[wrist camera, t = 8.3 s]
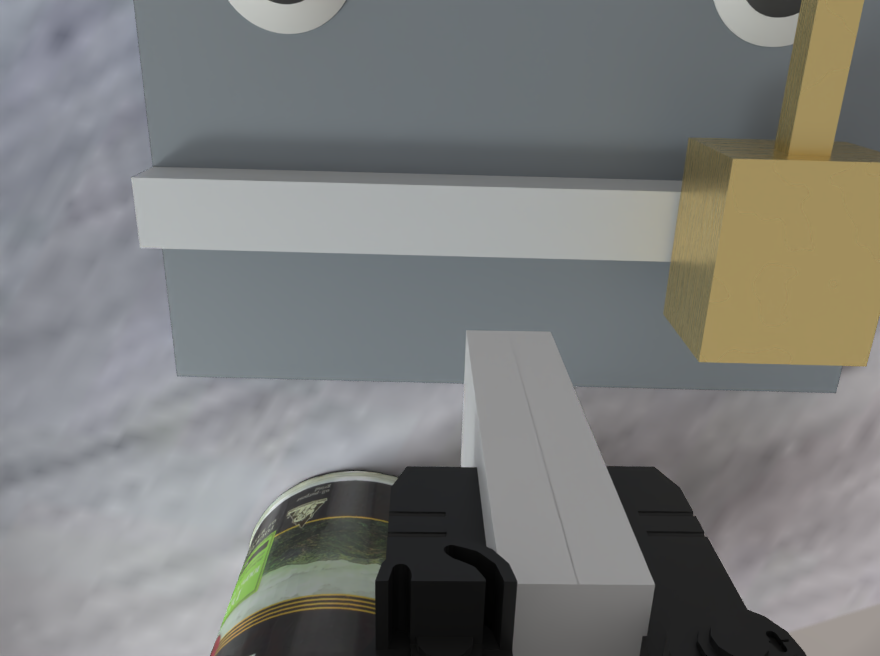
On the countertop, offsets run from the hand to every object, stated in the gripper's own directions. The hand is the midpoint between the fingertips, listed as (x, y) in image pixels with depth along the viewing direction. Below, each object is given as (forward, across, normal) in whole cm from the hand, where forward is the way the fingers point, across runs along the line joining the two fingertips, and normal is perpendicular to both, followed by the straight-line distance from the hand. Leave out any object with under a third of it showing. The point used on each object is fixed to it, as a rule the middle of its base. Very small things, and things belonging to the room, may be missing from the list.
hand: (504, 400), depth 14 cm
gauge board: (+16, +2, +2) cm, 16 cm away
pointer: (+14, +9, +3) cm, 17 cm away
